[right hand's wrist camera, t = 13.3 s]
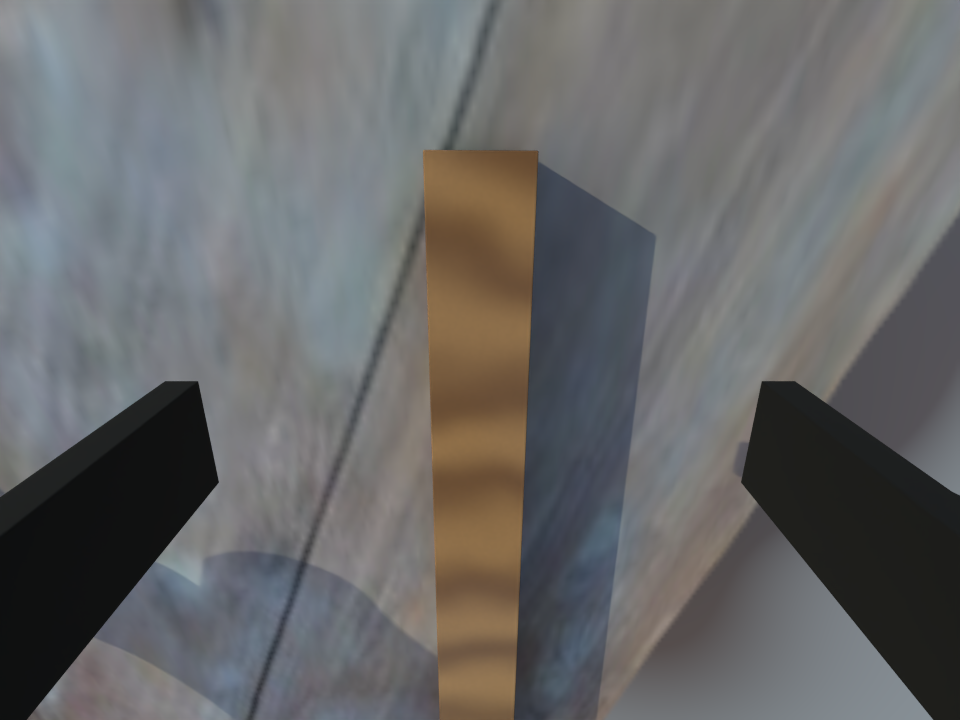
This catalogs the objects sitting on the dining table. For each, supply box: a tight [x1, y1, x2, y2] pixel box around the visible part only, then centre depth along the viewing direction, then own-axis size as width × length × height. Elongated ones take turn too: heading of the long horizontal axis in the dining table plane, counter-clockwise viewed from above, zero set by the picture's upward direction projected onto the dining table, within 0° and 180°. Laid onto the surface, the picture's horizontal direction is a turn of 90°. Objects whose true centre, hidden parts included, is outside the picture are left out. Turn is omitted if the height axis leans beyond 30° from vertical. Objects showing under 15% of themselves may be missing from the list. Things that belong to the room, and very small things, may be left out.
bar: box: [423, 150, 538, 720], centre depth 39 cm, size 54×6×8 cm, turn 0°
